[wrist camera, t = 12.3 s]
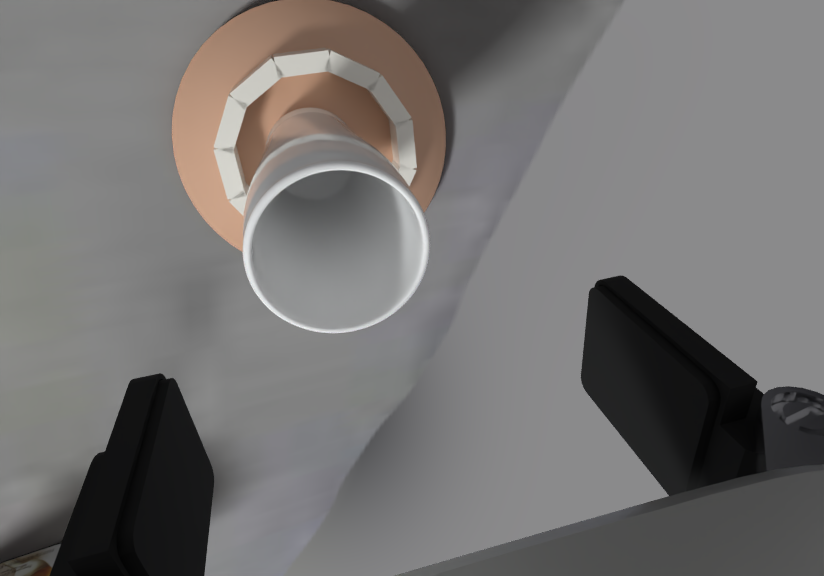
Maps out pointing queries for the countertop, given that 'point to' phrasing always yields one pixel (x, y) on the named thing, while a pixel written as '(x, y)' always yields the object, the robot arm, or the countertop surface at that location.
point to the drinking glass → (331, 227)
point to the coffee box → (31, 563)
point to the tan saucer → (300, 100)
